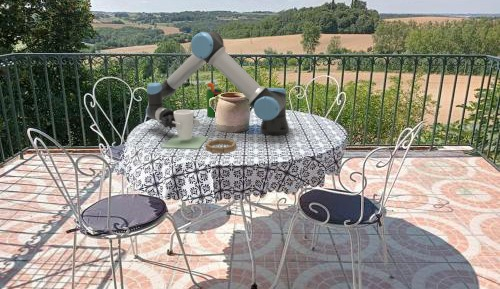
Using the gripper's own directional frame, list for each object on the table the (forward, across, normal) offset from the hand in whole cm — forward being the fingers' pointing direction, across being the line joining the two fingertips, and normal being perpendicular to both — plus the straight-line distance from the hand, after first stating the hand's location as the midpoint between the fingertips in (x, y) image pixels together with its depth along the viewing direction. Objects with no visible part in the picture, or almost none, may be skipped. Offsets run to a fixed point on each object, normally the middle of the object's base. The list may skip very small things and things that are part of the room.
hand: (189, 124), depth 185 cm
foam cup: (-4, 0, -8) cm, 9 cm away
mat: (-4, 0, -10) cm, 11 cm away
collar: (+14, -8, -10) cm, 19 cm away
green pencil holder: (-38, -42, -10) cm, 58 cm away
